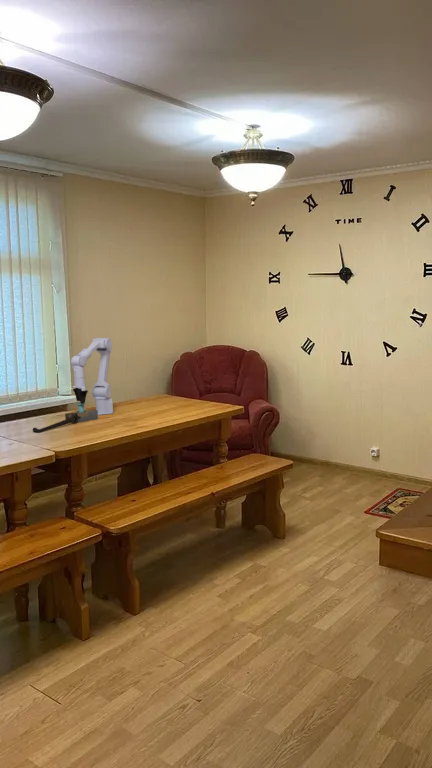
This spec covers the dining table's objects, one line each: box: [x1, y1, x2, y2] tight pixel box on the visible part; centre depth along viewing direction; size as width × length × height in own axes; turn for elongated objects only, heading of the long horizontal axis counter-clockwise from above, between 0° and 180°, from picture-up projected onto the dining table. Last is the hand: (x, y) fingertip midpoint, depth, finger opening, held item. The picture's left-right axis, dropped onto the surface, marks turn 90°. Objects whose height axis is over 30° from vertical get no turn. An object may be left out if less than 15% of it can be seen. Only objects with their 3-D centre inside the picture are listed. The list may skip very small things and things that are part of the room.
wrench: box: [32, 414, 81, 434], centre depth 330 cm, size 5×5×30 cm
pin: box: [77, 402, 86, 413], centre depth 345 cm, size 4×4×10 cm
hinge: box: [64, 409, 99, 423], centre depth 345 cm, size 18×6×5 cm, turn 117°
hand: (80, 402), depth 344 cm, fingers open, 7 cm apart
